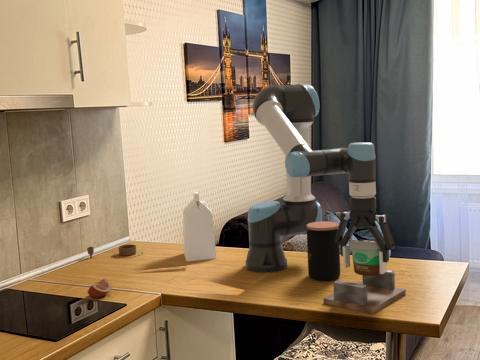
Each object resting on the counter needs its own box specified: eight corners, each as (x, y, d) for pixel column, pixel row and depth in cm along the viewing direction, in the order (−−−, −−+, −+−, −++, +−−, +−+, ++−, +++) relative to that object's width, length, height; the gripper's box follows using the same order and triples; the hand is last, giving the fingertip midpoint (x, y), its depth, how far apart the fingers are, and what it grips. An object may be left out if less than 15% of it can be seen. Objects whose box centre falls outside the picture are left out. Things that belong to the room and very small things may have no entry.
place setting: (131, 264, 227) (130, 249, 226) (85, 263, 232) (84, 248, 232) (150, 253, 244) (149, 239, 243) (107, 252, 249) (106, 238, 248)
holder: (323, 303, 171) (322, 280, 170) (358, 285, 186) (357, 264, 185) (372, 314, 160) (372, 289, 159) (405, 294, 175) (405, 271, 174)
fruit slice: (98, 291, 193) (97, 277, 192) (116, 293, 191) (115, 278, 190) (84, 300, 185) (82, 284, 184) (102, 301, 183) (101, 285, 182)
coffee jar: (316, 271, 204) (314, 220, 201) (345, 274, 198) (343, 222, 196) (303, 279, 195) (301, 226, 192) (333, 283, 189) (331, 228, 187)
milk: (183, 255, 234) (179, 191, 231) (212, 253, 236) (208, 189, 233) (186, 263, 223) (182, 195, 219) (216, 260, 225) (212, 193, 221)
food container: (343, 274, 172) (341, 241, 171) (350, 269, 177) (349, 236, 176) (384, 278, 166) (383, 244, 164) (390, 273, 171) (390, 239, 170)
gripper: (320, 195, 174) (323, 267, 177) (394, 200, 159) (396, 279, 161) (334, 192, 180) (336, 261, 182) (406, 196, 164) (408, 272, 167)
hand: (364, 269), depth 172 cm, fingers closed on food container, 11 cm apart
